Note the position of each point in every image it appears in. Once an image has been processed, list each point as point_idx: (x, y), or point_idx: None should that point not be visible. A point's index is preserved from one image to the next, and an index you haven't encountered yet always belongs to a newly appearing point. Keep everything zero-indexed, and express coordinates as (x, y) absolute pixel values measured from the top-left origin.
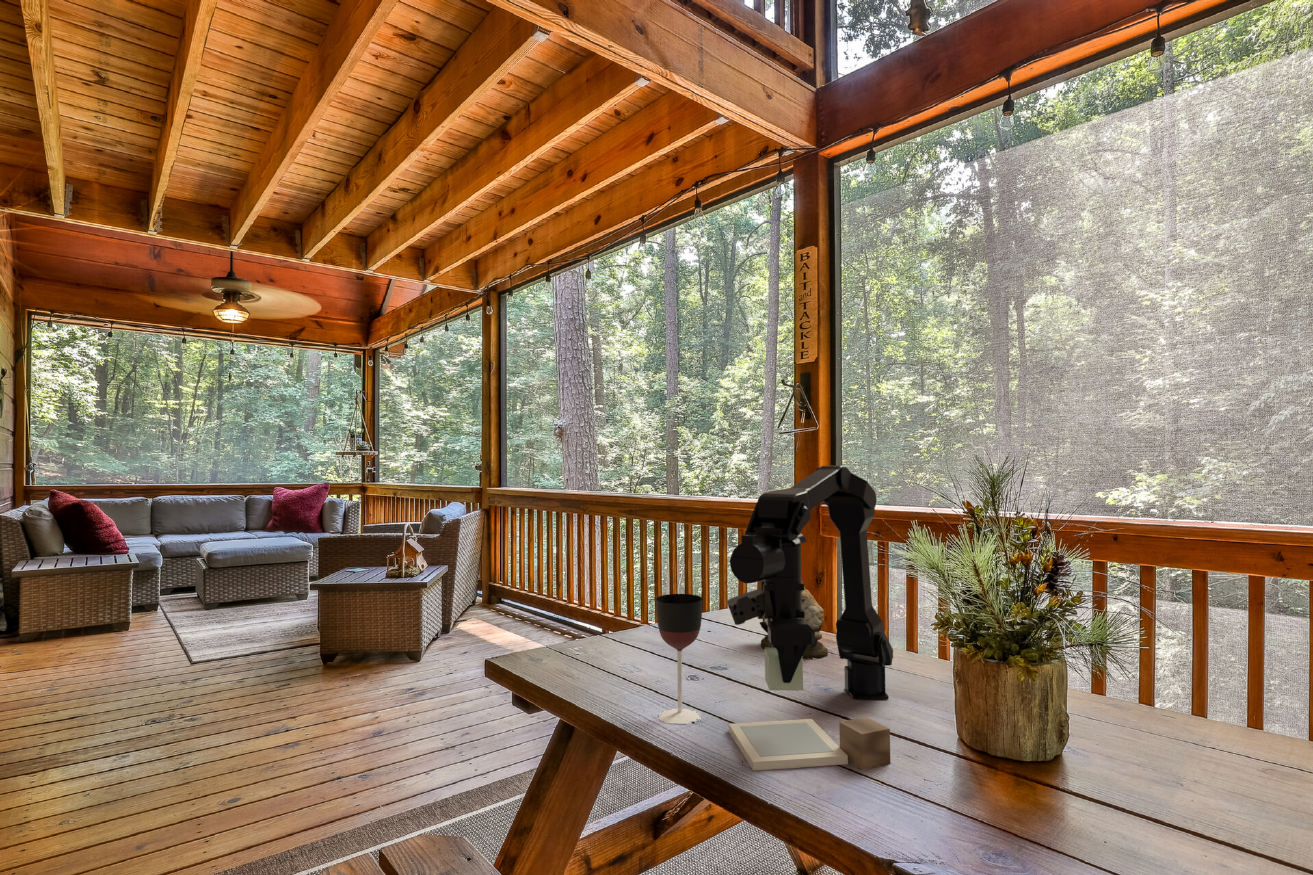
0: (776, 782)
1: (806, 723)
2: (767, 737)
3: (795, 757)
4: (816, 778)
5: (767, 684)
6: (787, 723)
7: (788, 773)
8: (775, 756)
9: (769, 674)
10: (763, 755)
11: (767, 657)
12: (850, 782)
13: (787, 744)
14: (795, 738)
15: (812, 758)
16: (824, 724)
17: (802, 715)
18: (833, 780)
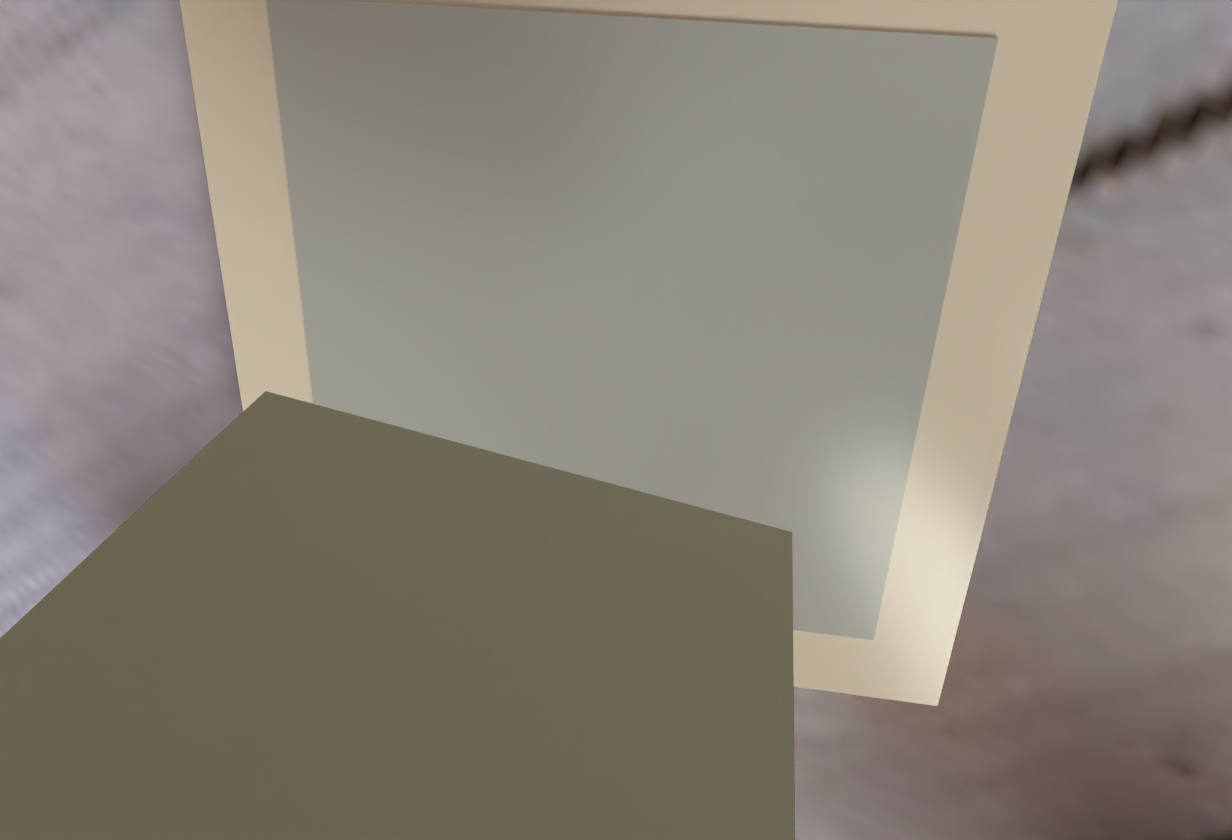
0: (26, 15)
1: (850, 633)
2: (650, 217)
3: (252, 287)
4: (108, 322)
5: (492, 460)
6: (910, 506)
7: (172, 166)
8: (268, 135)
9: (117, 537)
10: (279, 32)
11: (219, 830)
12: (71, 485)
13: (478, 325)
14: (585, 433)
15: (244, 398)
16: (934, 751)
17: (1170, 704)
18: (88, 408)
